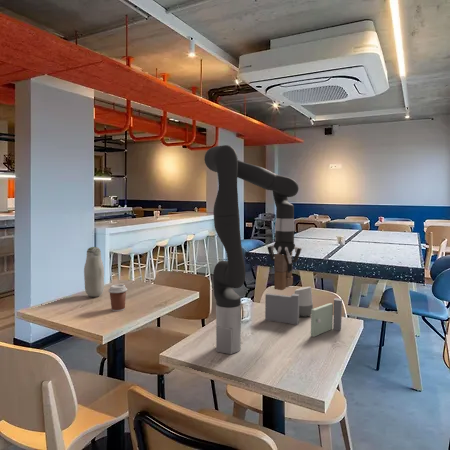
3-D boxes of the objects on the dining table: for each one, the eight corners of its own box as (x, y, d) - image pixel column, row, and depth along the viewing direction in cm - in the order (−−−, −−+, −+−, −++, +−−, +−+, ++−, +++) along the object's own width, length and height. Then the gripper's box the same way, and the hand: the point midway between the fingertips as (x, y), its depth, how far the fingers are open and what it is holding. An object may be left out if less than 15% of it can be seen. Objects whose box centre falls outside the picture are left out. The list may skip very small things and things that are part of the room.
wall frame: (340, 330, 164) (341, 300, 163) (264, 320, 177) (265, 292, 176) (341, 328, 167) (342, 298, 166) (266, 318, 180) (267, 291, 178)
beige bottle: (81, 298, 213) (79, 247, 210) (93, 293, 223) (91, 245, 220) (97, 299, 210) (95, 248, 208) (107, 294, 220) (106, 246, 217)
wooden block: (273, 289, 152) (274, 244, 151) (285, 283, 161) (285, 241, 160) (282, 290, 150) (283, 244, 149) (293, 284, 159) (294, 241, 158)
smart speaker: (298, 310, 191) (299, 282, 190) (316, 314, 185) (316, 285, 184) (289, 315, 184) (289, 286, 183) (306, 319, 178) (307, 289, 177)
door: (335, 329, 165) (336, 304, 164) (317, 337, 156) (317, 311, 155) (329, 327, 167) (329, 302, 166) (310, 335, 158) (311, 309, 157)
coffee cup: (130, 306, 197) (129, 283, 196) (123, 312, 188) (123, 288, 187) (113, 306, 198) (112, 283, 197) (105, 311, 189) (105, 287, 188)
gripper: (264, 229, 153) (264, 272, 155) (300, 231, 148) (299, 275, 149) (270, 227, 160) (269, 268, 162) (304, 229, 154) (303, 271, 156)
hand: (283, 271), depth 155 cm, fingers closed on wooden block, 4 cm apart
